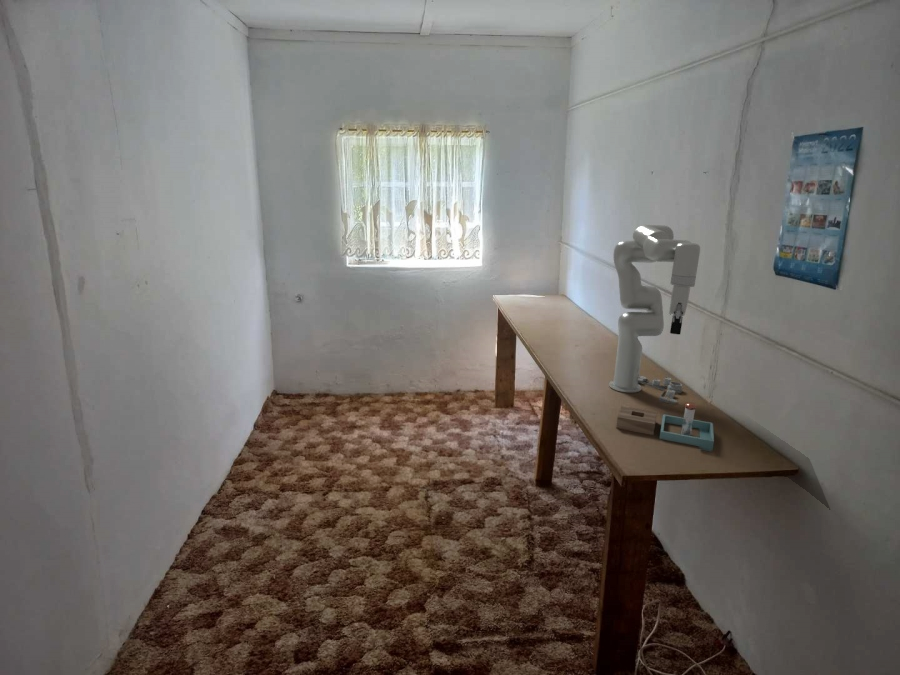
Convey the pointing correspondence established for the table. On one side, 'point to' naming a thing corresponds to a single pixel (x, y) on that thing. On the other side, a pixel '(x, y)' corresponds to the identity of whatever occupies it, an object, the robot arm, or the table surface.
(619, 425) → the block
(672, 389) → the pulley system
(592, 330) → the table surface
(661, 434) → the tray
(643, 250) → the robot arm
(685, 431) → the pin
